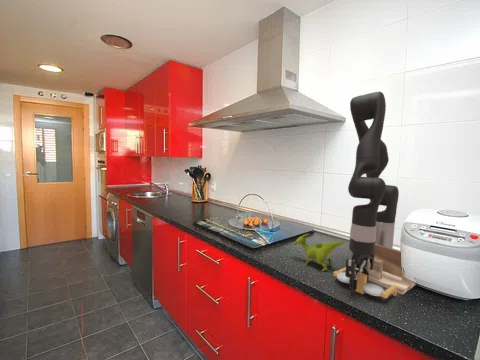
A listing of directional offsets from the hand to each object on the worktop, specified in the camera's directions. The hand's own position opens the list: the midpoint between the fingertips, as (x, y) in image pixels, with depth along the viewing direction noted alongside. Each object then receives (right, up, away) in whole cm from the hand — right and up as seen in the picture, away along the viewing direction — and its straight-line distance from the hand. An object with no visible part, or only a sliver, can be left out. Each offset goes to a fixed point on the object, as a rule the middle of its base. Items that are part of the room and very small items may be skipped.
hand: (358, 285), depth 81 cm
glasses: (+2, -2, +2) cm, 3 cm away
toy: (-8, 0, +19) cm, 21 cm away
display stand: (+13, -1, +10) cm, 16 cm away
